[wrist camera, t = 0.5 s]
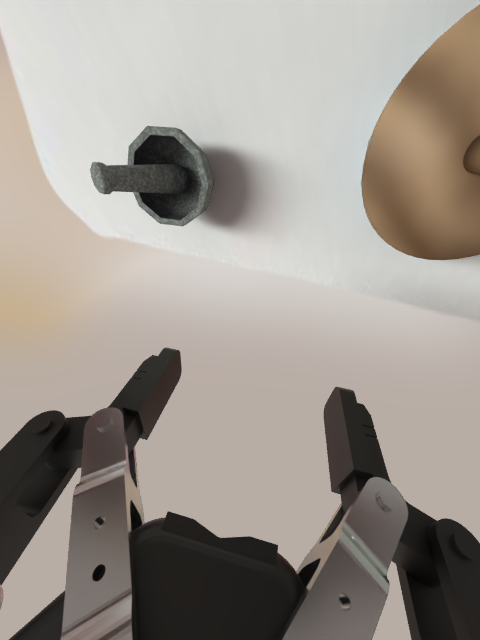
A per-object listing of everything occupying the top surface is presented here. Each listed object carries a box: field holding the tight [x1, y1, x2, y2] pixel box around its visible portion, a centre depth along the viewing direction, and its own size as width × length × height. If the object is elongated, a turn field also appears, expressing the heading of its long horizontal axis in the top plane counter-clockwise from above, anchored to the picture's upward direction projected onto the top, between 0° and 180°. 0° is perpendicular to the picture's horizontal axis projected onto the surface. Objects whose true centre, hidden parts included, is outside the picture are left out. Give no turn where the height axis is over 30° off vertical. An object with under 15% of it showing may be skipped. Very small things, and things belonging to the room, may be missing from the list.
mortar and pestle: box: [90, 126, 214, 226], centre depth 26 cm, size 11×9×12 cm
